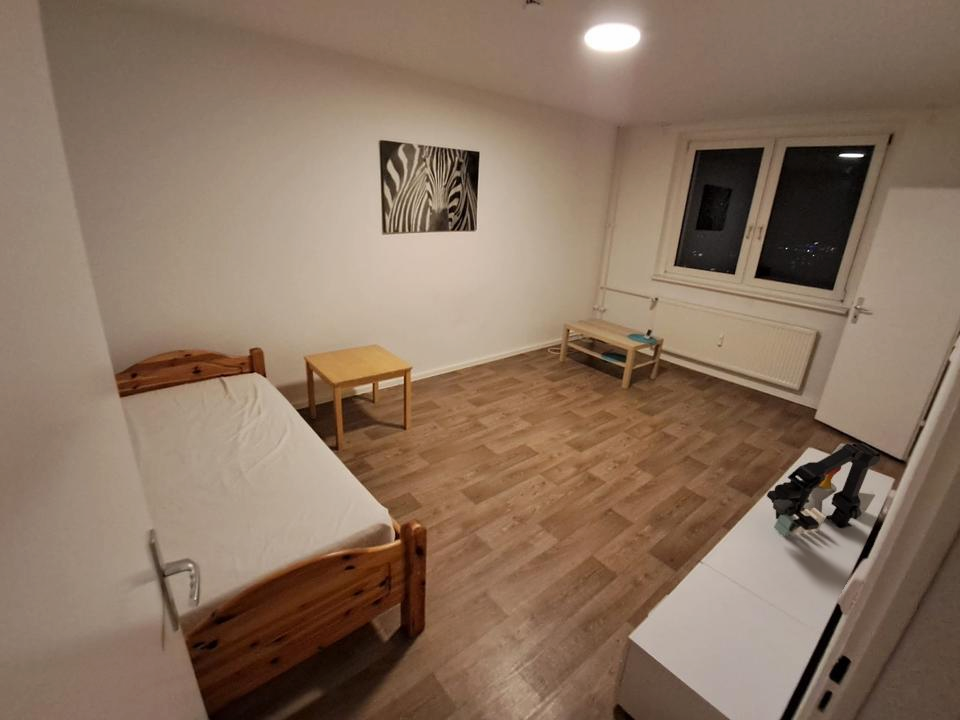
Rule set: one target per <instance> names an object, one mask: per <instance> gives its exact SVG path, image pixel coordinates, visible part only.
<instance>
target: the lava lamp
mask: <svg viewBox="0 0 960 720" xmlns="http://www.w3.org/2000/svg"><path fill="white" fill-rule="evenodd" d="M846 444H847V443H839V445H838V446H837V447H836V448H835V450H834V451H833V452H832V453H831V454H833V453H835V452H837V451H838V450H840V449H842V448H843V446H844V445H846ZM841 469H842V466H841V467H839V468H837V469H835V470H834V471H832V472H830V473H828V474H827V475H826V478H825V480H824V481H823V482H822V483H821V484H820V485H819V486H818V487H817V488H814V489H813V490H812V492H811V494H810V496H809V498H808V500H809V503H806V504H805V505H804V508H805V509H808V510H809V511H811V509H812V508H816V509H817V510H818V511H819V512H821V513H822V512H823V501H824V500H825V499H827V498H828V497H830V496H831V495H834V494H835V493H837V492H838V491H837V490H838V488H837V486H836V485H835V484H834V483H832V480H833V478H834V476H835V475H837V473H838V472H840V471H841ZM801 512H803V511H801ZM822 514H823V513H822Z"/></svg>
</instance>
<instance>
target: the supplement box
mask: <svg viewBox="0 0 960 720" xmlns="http://www.w3.org/2000/svg"><path fill="white" fill-rule="evenodd" d="M858 496H859V499H860V501H861V503H860V507H859V508H860V510H861V512H862V514H861V515H860V516H859V517H860V518H861V517H862V518H863V516H864V515H865V513H866V512H867V510H868V509H869V507H870V504H871V503H872V501H873V500H874V498H875V497H876V494H875V492H873V491H872V489H870V488H869V487H868V486H867V484H865V483H864V482H863V484H862V486H861V489H860V491H859V493H858Z"/></svg>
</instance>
